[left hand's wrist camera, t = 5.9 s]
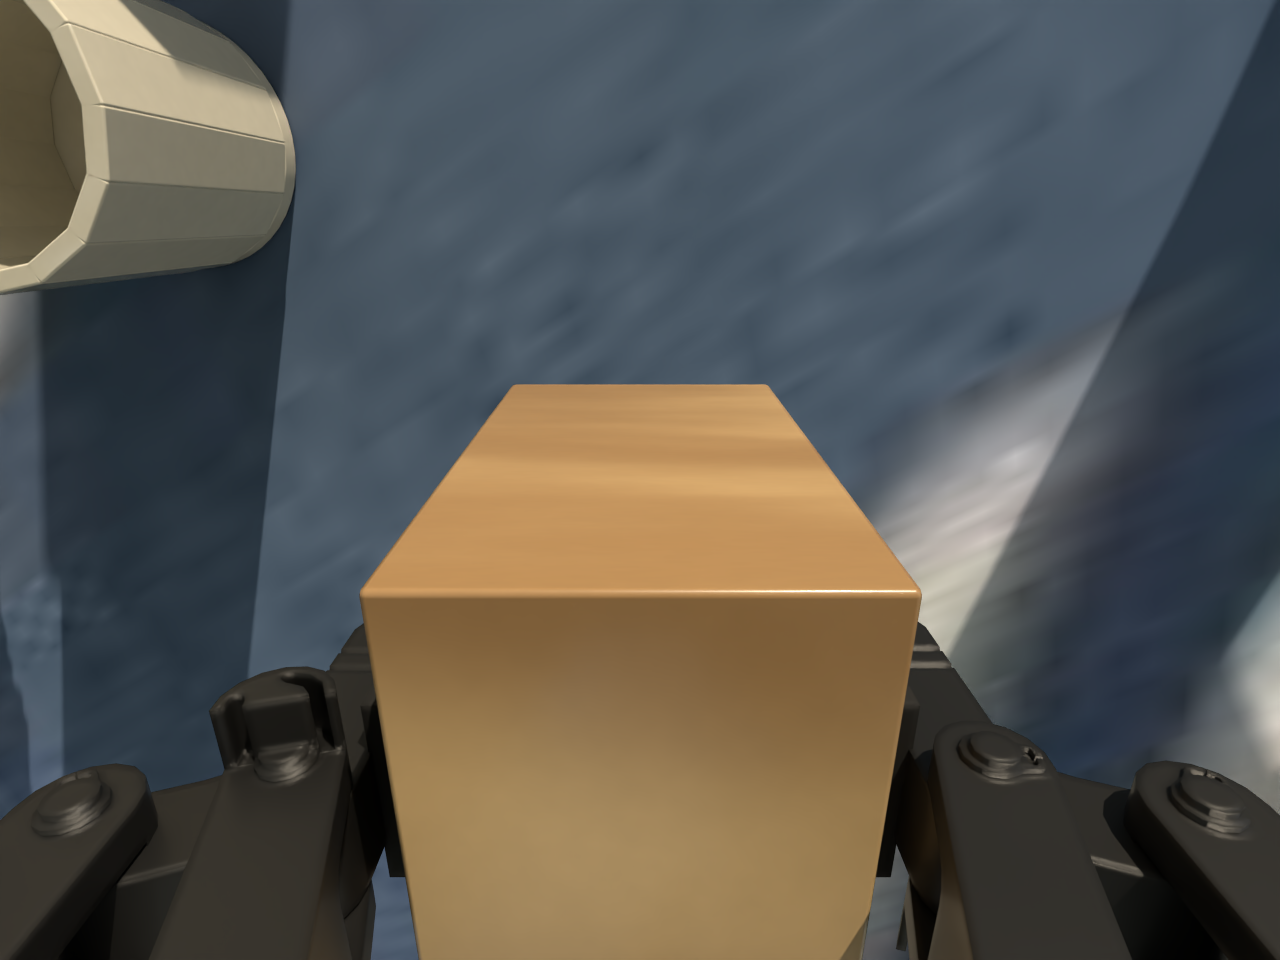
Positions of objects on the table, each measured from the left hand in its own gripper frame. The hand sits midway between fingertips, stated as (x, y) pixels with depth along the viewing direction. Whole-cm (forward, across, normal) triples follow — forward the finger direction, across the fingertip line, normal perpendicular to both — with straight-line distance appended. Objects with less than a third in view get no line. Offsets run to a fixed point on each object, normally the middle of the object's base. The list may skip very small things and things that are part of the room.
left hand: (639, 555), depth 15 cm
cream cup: (+13, -15, +9) cm, 22 cm away
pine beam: (0, 0, -8) cm, 8 cm away
